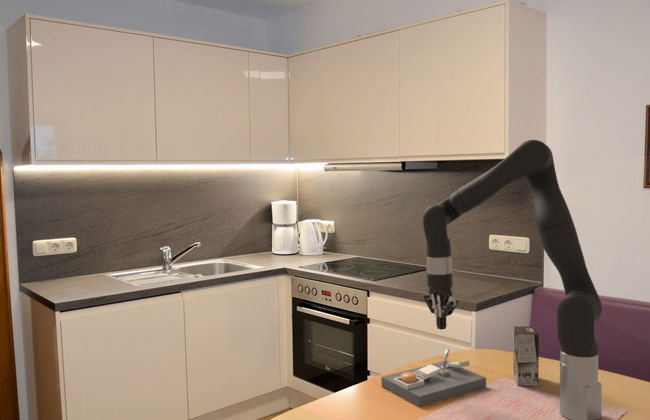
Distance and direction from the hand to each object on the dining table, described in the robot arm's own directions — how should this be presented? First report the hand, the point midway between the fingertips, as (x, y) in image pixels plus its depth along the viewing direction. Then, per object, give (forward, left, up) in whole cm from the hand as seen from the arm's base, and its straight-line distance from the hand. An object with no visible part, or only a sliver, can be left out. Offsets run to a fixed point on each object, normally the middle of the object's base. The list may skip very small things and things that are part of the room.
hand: (441, 328), depth 166 cm
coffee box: (-9, -26, -19) cm, 34 cm away
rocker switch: (+3, +3, -14) cm, 15 cm away
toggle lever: (+3, -3, -14) cm, 14 cm away
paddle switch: (+3, -10, -14) cm, 18 cm away
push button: (+3, +10, -15) cm, 18 cm away
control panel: (+3, +1, -19) cm, 19 cm away
